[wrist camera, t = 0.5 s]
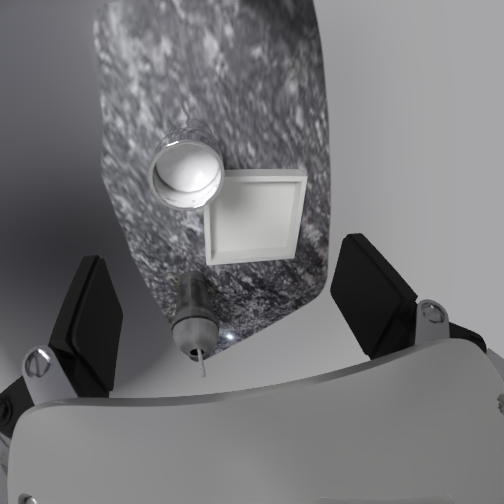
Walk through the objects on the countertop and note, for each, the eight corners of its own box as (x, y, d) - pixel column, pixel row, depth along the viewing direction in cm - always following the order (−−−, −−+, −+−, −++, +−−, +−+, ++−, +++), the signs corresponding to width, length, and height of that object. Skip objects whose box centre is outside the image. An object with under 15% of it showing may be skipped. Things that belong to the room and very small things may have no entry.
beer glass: (197, 105, 31) (198, 121, 19) (224, 145, 35) (242, 186, 23) (154, 134, 32) (130, 170, 20) (182, 172, 36) (177, 226, 24)
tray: (202, 170, 37) (202, 178, 34) (300, 169, 39) (307, 176, 37) (205, 254, 45) (206, 265, 43) (288, 248, 48) (294, 258, 46)
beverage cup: (166, 287, 48) (164, 386, 32) (182, 259, 45) (185, 362, 29) (200, 299, 51) (211, 393, 36) (219, 273, 48) (237, 372, 33)
